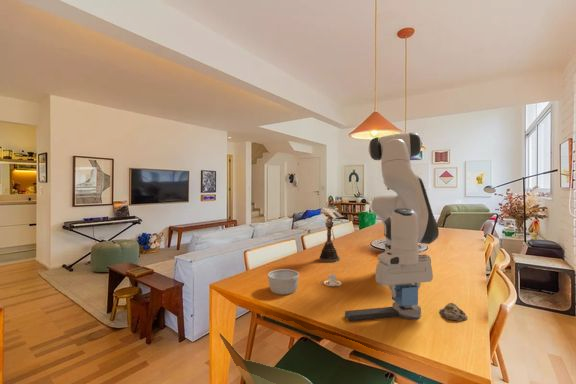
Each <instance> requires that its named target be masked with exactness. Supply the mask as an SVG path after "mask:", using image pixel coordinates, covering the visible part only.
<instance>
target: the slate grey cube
mask: <svg viewBox="0 0 576 384" xmlns="http://www.w3.org/2000/svg"><path fill="white" fill-rule="evenodd" d="M394 289H395V291H397V292H398V297H392V296H391V300H393V302H397V303H398V304H399V305H401V306H410V305H418V306H419V289H418V287H417V286H415V285H414V284H413V283H411V284H400V285H396V287H395V288H394Z"/></svg>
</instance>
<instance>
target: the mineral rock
mask: <svg viewBox="0 0 576 384" xmlns="http://www.w3.org/2000/svg"><path fill="white" fill-rule="evenodd" d="M439 313H440V315H441V316H442V317H444V318H446V319H449V320H453V321H456V322H463V321H466V320H467V319H468V316H467V314H466V313H465V312H464V311H463V310H462V309H461V308H459V306H458V305H457V304H455V303H453V302H448V304H446V305H445V306H444V307H443V308H441V309H439Z"/></svg>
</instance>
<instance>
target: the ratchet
mask: <svg viewBox="0 0 576 384" xmlns="http://www.w3.org/2000/svg"><path fill="white" fill-rule="evenodd" d="M344 317H345V318H346V320H347V321H348V322H350V323H351V322H352V323H353V322H359V321H360V322H362V321H370V320H371V321H372V320H381V319H392V318H400V319H404V320H407V321H413V320H414V321H415V320H420V319H421V317H422V308H421V305H419V304H418V305H410V306H401V305H399V304H398V303H397V302H395V301H393V302H392V306H384V307H374V308H362V309H353V310H352V309H351V310H345V311H344Z"/></svg>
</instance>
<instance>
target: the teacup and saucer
mask: <svg viewBox="0 0 576 384" xmlns="http://www.w3.org/2000/svg"><path fill="white" fill-rule="evenodd" d="M336 278H337V275H336V274H335V273H329V274H328V279H327V280H325V281H323V285H325V286H329V287H339V286H341V285H342V282H341V281H339V280H336ZM326 282H327V284H326ZM328 282H329V283H328Z"/></svg>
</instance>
